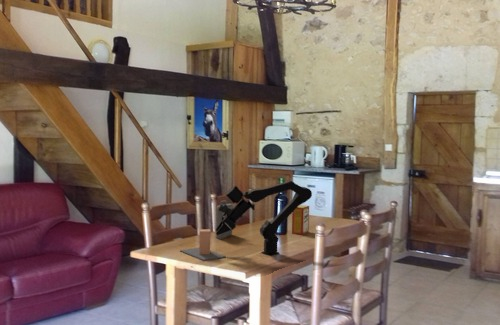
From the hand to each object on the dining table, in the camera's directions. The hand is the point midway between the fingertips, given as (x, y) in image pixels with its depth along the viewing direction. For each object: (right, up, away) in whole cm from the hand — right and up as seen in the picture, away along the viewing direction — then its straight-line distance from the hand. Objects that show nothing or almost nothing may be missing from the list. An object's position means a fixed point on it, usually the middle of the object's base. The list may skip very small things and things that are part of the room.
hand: (216, 232), depth 256 cm
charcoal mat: (-7, -10, 0) cm, 12 cm away
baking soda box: (+46, -8, +57) cm, 74 cm away
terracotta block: (-6, -10, 0) cm, 11 cm away
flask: (+1, -8, +43) cm, 44 cm away
